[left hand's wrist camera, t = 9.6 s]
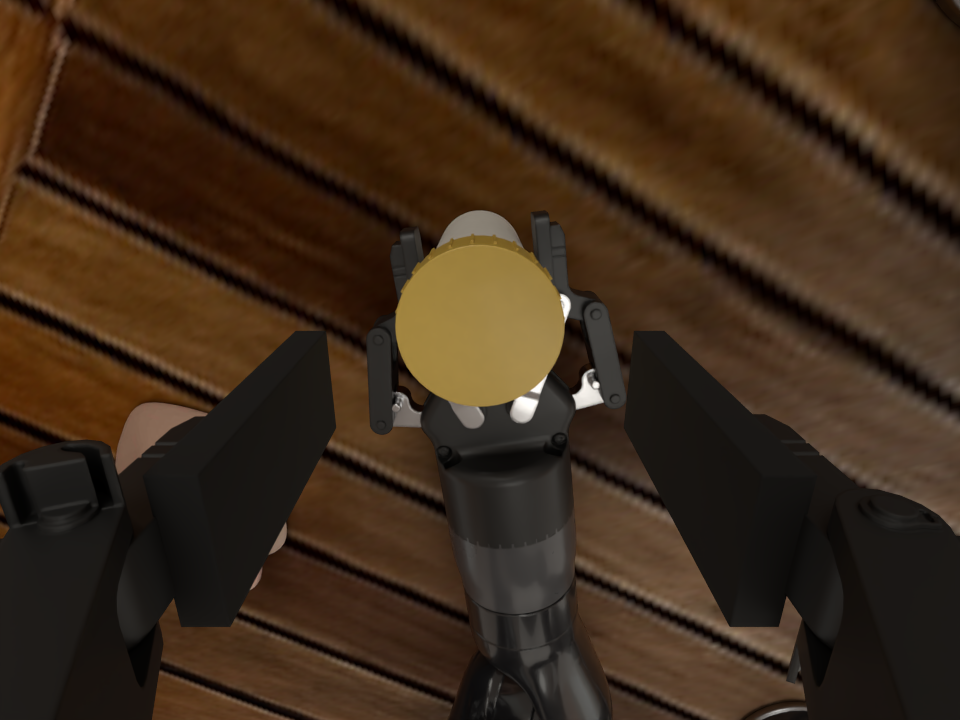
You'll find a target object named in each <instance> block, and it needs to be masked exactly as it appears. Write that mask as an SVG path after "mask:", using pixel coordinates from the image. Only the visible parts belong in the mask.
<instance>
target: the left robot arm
mask: <svg viewBox="0 0 960 720" xmlns="http://www.w3.org/2000/svg"><path fill="white" fill-rule="evenodd" d="M935 1H936V2H937V4H938V5H939V7H940V8H941V9H942V10H943V12H944V13H945V14H946V15H947V16H948V17H949V18H950V19H951V20H952V21H953V22H954V23H955V24H957V25H958V26H959V27H960V0H935ZM335 429H336V422H335V412H334V403H333V394H332V384H331V375H330V365H329V356H328V346H327V337H326V331H295V332H294V333H293V334H292V335H291V336H290V337H289V338H288V339H287V340H286V341H285V342H284V343H283V344H281V345H280V346H279V347H278V348H277V349H276V350H275V351H274V352H273V353H272V354H271V355H270V356H269V357H268V358H267V359H266V360H265V361H263V362H262V363H261V364H260V365H259V366H258V367H257V368H256V369H255V370H254V371H253V372H252V373H251V374H250V375H249V376H248V377H246V378H245V379H244V380H243V381H242V382H241V383H240V384H239V385H238V386H237V387H236V388H235V389H234V390H233V391H232V392H231V393H230V394H228V395H227V396H226V397H225V398H224V399H223V400H222V401H221V402H220V403H219V404H218V405H217V406H216V407H215V408H214V409H213V410H212V411H210V412H209V413H208V414H207V415H206V416H195V417H193V418H191V419H189V420H187V421H185V422H183V423H181V424H179V425H177V426H175V427H173V428H171V429H170V430H169V431H168V432H166V433H165V434H164V435H163V436H162V437H161V438H160V439H159V440H157V441H156V442H155V445H152V446H151V447H149V448H148V449H147V450H146V451H145V452H144V453H143V454H141V458H137V459H136V460H135V461H133V462H132V463H131V464H130V465H129V466H128V467H127V468H125V469H124V470H123V471H122V472H121V473H120V474H119V475H118V473H117V469H116V466H115V462H114V458H113V455H112V451H111V447H110V446H109V445H107V444H105V443H104V442H102V441H94V440H77V441H66V442H61V443H57V444H52V445H48V446H44V447H41V448H38V449H35V450H32V451H29V452H27V453H24V454H21V455H19V456H17V457H15V458H13V459H11V460H10V461H8V462H6V463H4V464H2V465H1V466H0V503H1V506H2V509H3V511H4V514H5V517H6V519H7V522H8V525H9V527H10V529H9V530H8V532H7V533H6V535H5V537H4V538H3V539H0V720H152V714H153V708H154V701H155V695H156V688H157V682H158V675H159V669H160V662H161V656H162V650H163V638H162V632H161V629H160V625H159V621H158V620H159V618H160V617H161V616H162V614H163V613H164V611H165V610H166V608H167V607H168V606H169V604H170V603H171V601H172V600H173V598H174V600H175V604H176V608H177V612H178V616H179V619H180V623H181V627H230V626H231V624H232V622H233V621H234V619H235V617H236V615H237V613H238V611H239V609H240V607H241V606H242V604H243V602H244V600H245V598H246V596H247V594H248V592H249V591H250V589H251V587H252V585H253V583H254V581H255V579H256V577H257V575H258V574H259V572H260V570H261V568H262V566H263V564H264V562H265V560H266V559H267V557H268V555H269V553H270V551H271V549H272V547H273V545H274V544H275V542H276V540H277V538H278V536H279V534H280V532H281V530H282V528H283V527H284V525H285V523H286V521H287V519H288V517H289V515H290V513H291V512H292V510H293V508H294V506H295V504H296V502H297V500H298V498H299V497H300V495H301V493H302V491H303V489H304V487H305V485H306V483H307V481H308V480H309V478H310V476H311V474H312V472H313V470H314V468H315V466H316V465H317V463H318V461H319V459H320V457H321V455H322V453H323V451H324V450H325V448H326V446H327V444H328V442H329V440H330V438H331V436H332V434H333V433H334V431H335ZM624 429H625V431H626V433H627V434H628V436H629V438H630V440H631V442H632V444H633V446H634V448H635V450H636V451H637V453H638V455H639V457H640V459H641V461H642V463H643V465H644V466H645V468H646V470H647V472H648V474H649V476H650V478H651V480H652V481H653V483H654V485H655V487H656V489H657V491H658V493H659V495H660V497H661V498H662V500H663V502H664V504H665V506H666V508H667V510H668V512H669V513H670V515H671V517H672V519H673V521H674V523H675V525H676V527H677V528H678V530H679V532H680V534H681V536H682V538H683V540H684V542H685V544H686V545H687V547H688V549H689V551H690V553H691V555H692V557H693V559H694V560H695V562H696V564H697V566H698V568H699V570H700V572H701V574H702V575H703V577H704V579H705V581H706V583H707V585H708V587H709V589H710V591H711V592H712V594H713V596H714V598H715V600H716V602H717V604H718V606H719V607H720V609H721V611H722V613H723V615H724V617H725V619H726V621H727V622H728V624H729V626H730V627H779V623H780V619H781V616H782V612H783V608H784V604H785V600H786V596H787V597H788V598H789V600H790V601H791V603H792V604H793V605H794V607H795V608H796V610H797V611H798V613H799V614H800V615H801V617H802V621H801V625H800V629H799V632H798V636H797V639H796V643H795V647H794V650H793V654H792V658H791V661H790V665H789V668H788V674H787V680H786V681H788V682H791V683H794V684H795V681H796V677H797V674H798V672H799V671H800V670H801V674H802V680H803V687H804V693H805V700H806V706H807V713H808V719H809V720H960V536H956V535H955V534H954V532H953V531H952V529H951V527H950V526H949V525H948V524H947V523H946V522H945V521H944V520H943V519H942V518H941V517H940V516H939V515H937V514H936V513H934V512H933V511H931V510H930V509H928V508H926V507H925V506H923V505H922V504H919V503H917V502H914V501H912V500H910V499H907V498H905V497H903V496H900V495H896V494H893V493H889V492H885V491H881V490H875V489H866V488H859V487H858V486H857V485H856V484H855V483H854V482H852V481H851V480H850V479H849V478H848V477H847V476H846V475H844V474H843V473H842V472H841V471H840V470H839V469H838V468H836V467H835V466H834V465H833V464H832V463H831V462H830V461H828V460H827V459H826V458H825V457H824V456H819V452H818V451H817V450H816V449H815V448H813V447H812V446H811V445H810V444H809V443H806V442H805V440H804V439H803V438H802V437H801V436H800V435H798V434H797V433H796V432H795V431H794V430H793V429H792V428H790V427H789V426H787V425H785V424H783V423H781V422H779V421H777V420H775V419H773V418H771V417H769V416H767V415H765V414H752V413H751V412H750V411H748V410H747V409H746V408H745V407H744V406H743V405H742V404H741V403H740V402H739V401H738V400H737V399H736V398H735V397H734V396H733V395H732V394H730V393H729V392H728V391H727V390H726V389H725V388H724V387H723V386H722V385H721V384H720V383H719V382H718V381H717V380H716V379H715V378H714V377H712V376H711V375H710V374H709V373H708V372H707V371H706V370H705V369H704V368H703V367H702V366H701V365H700V364H699V363H698V362H697V361H695V360H694V359H693V358H692V357H691V356H690V355H689V354H688V353H687V352H686V351H685V350H684V349H683V348H682V347H681V346H680V345H679V344H677V343H676V342H675V341H674V340H673V339H672V338H671V337H670V336H669V335H668V334H667V333H666V332H665V331H634V337H633V346H632V356H631V365H630V375H629V384H628V394H627V403H626V412H625V422H624Z"/></svg>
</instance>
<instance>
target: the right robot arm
mask: <svg viewBox="0 0 960 720" xmlns="http://www.w3.org/2000/svg"><path fill="white" fill-rule="evenodd" d="M531 225H532V236H533V247H534V256H535V257H536V259H537V261H538V262H539V263H540V264H541V266H542V267H543V268H545V267H546V269H547V270H548V272H549V274H550V275H551V277H552V280H551V282H552V284H553V286H555V287H556V289H557V290H558V292H559V294H560V296H561V298H562V299H560V301H561V304H562V308H563V312H564V317H565V320H564V321H566V319H567V318H571V319H576V320H580V324H581V329H582V333H583V337H584V341H585V345H586V350H587V354H588V358H589V362H590V363H589V364H586V365H584V366H583V367H582V368H581V369H580V371H579V381H578V383H577V384H576V385H575V386H574V387H572V388H569V387H568V386H567V385H566V384H565V383H564V382H563V381H562V380H561V379H560V378H559V377H558V376H557V374H556V373H555V372H554V371H553V370H552V369H551V370H550V372H549V373H548V374H547V376H546V377H545V378H544V379H543V380H542V381H541V382H540V383H539V384H538V385H537V386H536V387H535V388H533V389H532V390H530V391H529V392H528V393H526V394H524V395H523V396H521V397H519V398H517V399H515V400H512V401H510V402H507V403H503V404H499V405H494V406H483V407H475V406H466V405H461V404H457V403H453V402H451V401H448V400H445V399H443V398H441V397H439V396H437V395H436V394H434V393H432V392H430V394H429V396H428V397H427V399H426V401H425V403H424V405H419V404H417V403H415V402H414V401H413V399H412V397H411V393H410V391H409V389H407V388H406V387H404V386H399V380H398V343H397V339H396V330H395V322H396V313H395V312H396V311H395V312H393V313H391V314H389V315H383V316H380V317H379V318H378V319H377V320H376V322H375V324H374V326H373V328H372V329H371V330H370V331H369V333H368V335H367V339H366V340H367V364H368V387H369V411H370V427H371V429H372V430H373V431H374V432H375V433H377V434H380V435H384V434H387V433H389V432H390V431H391V430H392V427H393V426H396V427H422V430H423V431H424V433H425V434H426V435H427V436H428V437H429V438H430V440H431V441H432V443H433V445H434V448H435V453H436V458H437V464H438V470H439V475H440V481H441V486H442V492H443V498H444V503H445V509H446V515H447V521H448V526H449V532H450V537H451V543H452V548H453V553H454V557H455V560H456V563H457V566H458V569H459V572H460V574H461V577H462V582H463V586H464V592H465V598H466V604H467V609H468V616H469V621H470V626H471V631H472V634H473V637H474V640H475V642H476V645H477V647H478V650H477V651H476V652H475V653H474V654H473V656H472V657H471V659H470V661H469V663H468V665H467V668H466V670H465V672H464V675H463V678H462V680H461V683H460V686H459V689H458V692H457V695H456V698H455V701H454V703H453V706H452V709H451V711H450V714H449V716H448V719H447V720H613V710H612V700H611V696H610V690H609V686H608V683H607V680H606V677H605V674H604V671H603V668H602V666H601V664H600V661H599V659H598V657H597V654H596V652H595V650H594V648H593V645H592V643H591V641H590V639H589V636H588V634H587V631H586V629H585V626H584V624H583V622H582V620H581V618H580V616H579V614H578V607H577V593H576V580H575V569H574V565H575V554H576V527H575V515H574V501H573V488H572V475H571V462H570V449H569V436H568V430H569V426H570V423H571V421H572V419H573V417H574V415H575V412H576V410H577V409H581V408H585V407H589V406H592V405H596V404H600V403H604V404H605V405H606V406H607V407H608V408H611V409H617V408H620V407H622V406H623V405H624V404H625V402H626V398H627V397H626V392H625V387H624V383H623V378H622V373H621V369H620V364H619V359H618V355H617V350H616V346H615V341H614V336H613V332H612V327H611V323H610V318H609V313H608V309H607V307H606V306H605V305H604V304H603V303H602V301H601V300H600V299H599V298H598V297H597V295H596V294H595V293H593V292H591V291H579V290H575V289H572V288H570V287H569V286H568V276H567V262H566V248H565V235H564V233H563V230H562V228H561V226H560V225H559V224H558V223H557V222H556V221H555V222H550V220H549V215H548V213H547V212H546V211H537V212H531ZM390 260H391V265H392V271H393V276H394V281H395V287H396V292H397V298H398V303H399V301H400V298H401V295H402V293H401V290H402V288H403V286H404V285H405V283H406V281H407V280H410V278H411V277H412V275H413V274H412V271H413V270H414V268H415V266H416V265H417V263H418V262H419V263H421V262H422V261H423V260H424V257H423V251H422V245H421V238H420V233H419V229H418V227H410V228H404V229H403V230H401V231H400V241H396V242H395V243H394V244H393V245H392V249H391V254H390ZM745 720H809V719H808V713H807V706H806V702H785V703H779V704H775V705H771V706H768V707H765V708H763V709H761V710H759V711H757V712H755V713H753V714H751V715H750V716H749V717H747V718H746V719H745Z"/></svg>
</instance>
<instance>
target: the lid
mask: <svg viewBox="0 0 960 720" xmlns="http://www.w3.org/2000/svg"><path fill="white" fill-rule="evenodd" d="M412 274H413V275H412V277H411V278H410V280H407V281H406V283H405V285H404V286H403V288H402V290H401V293H402V295H401V298H400V301H399V304H398V307H397V309H396V312H395V313H396V322H395V330H396V339H397V343H398V348H399V350H400V353H401V356H402V358H403V360H404V362H405V364H406V366H407V367H408V369H409V370H410V372H411V373H412V375H413V376H414V377H415V378H416V379H417V380H418V381H419V382H420V383H421V384H422V385H423V386H424V387H426V388H427V389H428V390H429V391H431V392H432V393H434V394H436V395H437V396H439V397H441V398H443V399H445V400H448V401H451V402H453V403H457V404H461V405H466V406H475V407H483V406H494V405H499V404H503V403H507V402H510V401H512V400H515V399H517V398H519V397H521V396H523V395H524V394H526V393H528V392H529V391H530V390H532V389H533V388H535V387H536V386H537V385H538V384H539V383H540V382H541V381H542V380H543V379H544V378H545V377H546V376H547V374H548V373H549V372H550V370H551V369H552V367H553V366H554V364H555V362H556V360H557V358H558V356H559V354H560V350H561V347H562V344H563V338H564V328H565V321H564V320H565V317H564V312H563V308H562V304H561V301H560V299H562V298H561V296H560V294H559V292H558V290H557V289H556V287H555V286H553V284H552V282H551V280H552V277H551V275H550V274H549V272H548V270H547V269H546V267H545V268H543V267H542V266H541V264H540V263H539V262H538V261H537V259H536V257H535V256H534V254H533V253H532V252H531V253H529V252H527V251H526V250H525V249H523V248H522V247H520V246H518V245H517V243H516V241H513V242H510V241H508V240H505V239H502V238H498V237H496V235H494V234H493V236H485V235H475V236H474V234H471V236H467V237H462V238H458V239H455V240H454V239H453V238H451V239H450V241H449V242H447V243H445V244H443V245H441V246H440V247H438V248H437V249H435V248H433V249H432V250H431V252H430V254H429V255H428V256H426V258H425V259H424V260H423V261H422V262H421V263H419V262H418V263H417V265H416V266H415V268H414V270H413V271H412Z"/></svg>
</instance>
